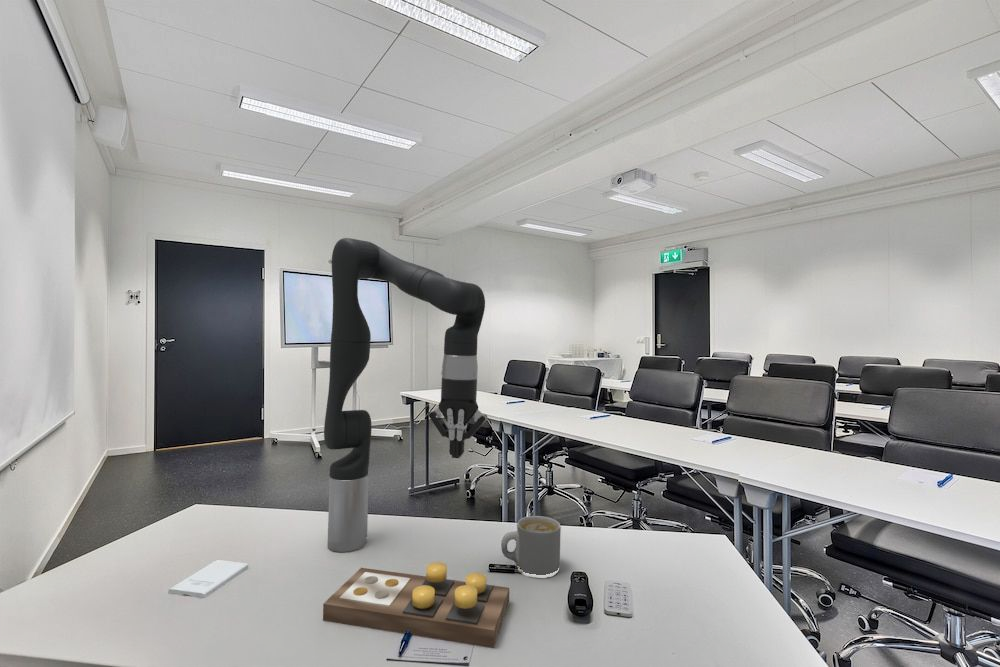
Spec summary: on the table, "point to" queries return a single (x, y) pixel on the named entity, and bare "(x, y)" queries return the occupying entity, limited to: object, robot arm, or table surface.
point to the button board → (390, 608)
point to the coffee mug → (535, 545)
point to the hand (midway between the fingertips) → (456, 457)
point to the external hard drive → (208, 579)
